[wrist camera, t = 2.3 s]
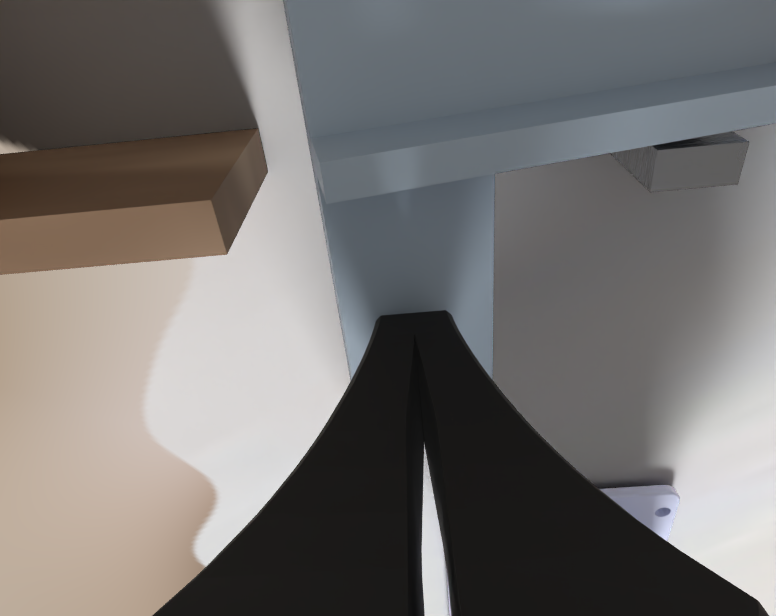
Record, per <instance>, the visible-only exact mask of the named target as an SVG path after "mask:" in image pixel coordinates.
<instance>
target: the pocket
mask: <svg viewBox="0 0 776 616" xmlns="http://www.w3.org/2000/svg"><path fill="white" fill-rule="evenodd" d="M267 173H268V170H267V166H266V161H265V157H264V152H263V148H262V144H261V139H260V135H259V130H258V128H257V129H247V130H237V131H227V132H217V133H207V134H197V135H187V136H177V137H167V138H157V139H147V140H137V141H127V142H117V143H107V144H97V145H87V146H78V147H68V148H58V149H48V150H38V151H28V152H18V153H8V154H0V275H2V274H14V273H25V272H36V271H48V270H58V269H70V268H81V267H93V266H104V265H115V264H125V263H137V262H149V261H160V260H171V259H181V258H194V257H205V256H216V255H227V253H228V251H229V249H230V247H231V245H232V243H233V241H234V239H235V237H236V235H237V233H238V231H239V229H240V227H241V225H242V223H243V221H244V219H245V217H246V215H247V213H248V211H249V209H250V207H251V205H252V203H253V201H254V199H255V197H256V195H257V193H258V191H259V189H260V187H261V185H262V183H263V181H264V179H265V177H266V175H267Z"/></svg>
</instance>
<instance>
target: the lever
mask: <svg viewBox="0 0 776 616" xmlns="http://www.w3.org/2000/svg"><path fill="white" fill-rule="evenodd" d="M283 3H284V8H285V14H286V20H287V25H288V31H289V37H290V42H291V48H292V53H293V59H294V65H295V70H296V76H297V82H298V87H299V93H300V98H301V104H302V110H303V115H304V121H305V127H306V132H307V138H308V143H309V149H310V155H311V160H312V166H313V171H314V177H315V183H316V188H317V194H318V200H319V205H320V211H321V216H322V222H323V228H324V233H325V239H326V245H327V250H328V256H329V261H330V267H331V273H332V278H333V284H334V290H335V295H336V301H337V306H338V312H339V318H340V323H341V329H342V334H343V340H344V346H345V351H346V357H347V363H348V368H349V374H350V379H351V380H352V378H353V376H354V374H355V372H356V370H357V368H358V366H359V364H360V362H361V359H362V357H363V355H364V353H365V350H366V348H367V346H368V343H369V341H370V338H371V335H372V332H373V329H374V326H375V322H376V320H377V319H378V318H379V317H380V316H381V315H392V314H405V313H417V312H429V311H441V310H446V311H448V312H449V313H450V314H451V315H452V317H453V319H454V321H455V323H456V325H457V327H458V329H459V331H460V333H461V335H462V336H463V338H464V340H465V341H466V343H467V345H468V346H469V348H470V349H471V351H472V352H473V354H474V355H475V357H476V358H477V360H478V361H479V363H480V364H481V365H482V367H483V368H484V369H485V371H486V372H487V373H488V375H489V376H490V377H491V379H492V375H493V286H494V197H495V174H497V173H502V172H508V171H513V170H519V169H524V168H530V167H535V166H541V165H547V164H552V163H558V162H563V161H569V160H574V159H580V158H586V157H591V156H597V155H602V154H608V153H613V152H619V151H624V150H630V149H636V148H641V147H647V146H652V145H658V144H663V143H669V142H674V141H680V140H686V139H691V138H697V137H702V136H708V135H713V134H719V133H725V132H730V131H736V130H741V129H747V128H752V127H758V126H763V125H769V124H775V123H776V0H283Z"/></svg>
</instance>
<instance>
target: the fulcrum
mask: <svg viewBox="0 0 776 616" xmlns="http://www.w3.org/2000/svg"><path fill="white" fill-rule="evenodd" d="M748 145H749V141H747V140H746V139H744V138H742V137H740V136H739V135H737V134H735V133H733V132H731V131H730V132H725V133H719V134H713V135H708V136H702V137H697V138H691V139H686V140H680V141H674V142H669V143H663V144H658V145H652V146H647V147H641V148H636V149H630V150H624V151H619V152H613V153H610V154H611V155H612V156H613V157H614V158H615V159H616V160H617V161H618V162H619V163H621V164H622V165H623V166H624V167H625V168H626V169H627V170H628V171H629V172H630V173H631V174H632V175H633V176H634V177H635V178H636V179H637V180H638V181H639V182H640V183H641V184H642V185H643V186H644V187H645V188H646V189H647V190H648V191H649V192H659V191H670V190H681V189H692V188H703V187H714V186H725V185H736V184H738V182H739V178H740V175H741V171H742V167H743V163H744V160H745V156H746V152H747V148H748Z"/></svg>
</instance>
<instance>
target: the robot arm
mask: <svg viewBox="0 0 776 616" xmlns="http://www.w3.org/2000/svg"><path fill="white" fill-rule="evenodd" d="M424 443H425V449H426V454H427V460H428V465H429V471H430V476H431V482H432V487H433V493H434V498H435V504H436V509H437V514H438V520H439V525H440V531H441V536H442V542H443V547H444V554H445V561H446V568H447V582H448V597H449V612H450V616H769V615H768V614H767V612H766V611H765V609H764V608H763V607H762V605H761V604H760V602H759V601H758V600H756V599H755V598H753V597H752V596H750V595H748V594H747V593H745V592H744V591H742V590H741V589H739V588H738V587H736V586H734V585H733V584H731V583H730V582H728V581H727V580H725V579H723V578H722V577H720V576H719V575H717V574H716V573H714V572H713V571H711V570H709V569H708V568H706V567H705V566H703V565H702V564H700V563H699V562H697V561H695V560H694V559H692V558H691V557H689V556H688V555H686V554H684V553H683V552H681V551H680V550H678V549H677V548H675V547H674V546H673V545H671V544H670V543H669V542H667V541H668V538H669V534H670V531H671V528H672V525H673V522H674V518H675V515H676V512H677V509H678V505H679V502H680V497H679V495H678V493H677V491H676V489H675V488H674V487H672V486H670V485H652V486H636V487H621V488H606V489H599V488H597V487H596V486H595V485H594V484H592V483H591V482H590V481H589V480H587V479H586V478H585V477H584V476H583V475H582V474H581V473H579V472H578V471H577V470H576V469H575V468H574V467H573V466H572V465H571V464H570V463H569V462H567V461H566V460H565V459H564V458H563V457H562V456H561V455H560V454H559V453H558V452H557V451H556V450H555V449H554V448H553V447H552V446H551V445H550V444H548V443H547V442H546V441H545V440H544V439H543V438H542V437H541V436H540V435H539V434H538V433H537V431H536V430H535V429H534V428H533V427H532V426H531V425H530V424H529V423H528V422H527V421H526V420H525V419H524V417H523V416H522V415H521V414H520V413H519V412H518V411H517V410H516V408H515V407H514V406H513V405H512V404H511V403H510V401H509V400H508V399H507V398H506V397H505V395H504V394H503V393H502V392H501V390H500V389H499V388H498V387H497V385H496V384H495V383H494V382H493V380H492V379H491V377H490V376H489V375H488V373H487V372H486V371H485V369H484V368H483V367H482V365H481V364H480V363H479V361H478V360H477V358H476V357H475V355H474V354H473V352H472V351H471V349H470V348H469V346H468V345H467V343H466V341H465V340H464V338H463V336H462V335H461V333H460V331H459V329H458V327H457V325H456V323H455V321H454V319H453V317H452V315H451V314H450V313H449V312H448V311H446V310H441V311H429V312H417V313H405V314H392V315H381V316H380V317H379V318H378V319H377V320H376V322H375V326H374V329H373V332H372V335H371V338H370V341H369V343H368V346H367V348H366V350H365V353H364V355H363V357H362V359H361V362H360V364H359V366H358V368H357V370H356V372H355V374H354V376H353V378H352V380H351V382H350V384H349V386H348V388H347V389H346V391H345V393H344V395H343V397H342V398H341V400H340V402H339V403H338V405H337V407H336V408H335V410H334V412H333V413H332V415H331V417H330V418H329V420H328V422H327V423H326V425H325V427H324V428H323V430H322V431H321V433H320V434H319V436H318V437H317V439H316V440H315V442H314V443H313V444H312V446H311V447H310V449H309V450H308V452H307V453H306V454H305V456H304V457H303V458H302V460H301V461H300V462H299V464H298V465H297V467H296V468H295V469H294V470H293V472H292V473H291V474H290V475H289V477H288V478H287V479H286V480H285V482H284V483H283V484H282V485H281V486H280V488H279V489H278V490H277V491H276V493H275V494H274V495H273V496H272V498H271V499H270V500H269V501H268V502H267V503H266V505H265V506H264V507H263V508H262V509H261V510H260V511H259V513H258V514H257V515H256V516H255V517H254V518H253V519H252V520H251V521H250V522H249V523H248V524H247V525H246V526H245V528H244V529H243V530H242V531H241V532H240V533H239V534H238V535H237V536H236V537H235V538H234V539H233V540H232V541H231V542H230V543H229V544H228V545H227V546H226V547H225V548H224V549H223V550H222V551H221V552H220V553H219V554H218V555H217V556H216V557H215V559H214V560H213V561H212V562H211V563H210V564H209V565H208V566H207V567H205V568H204V569H203V570H202V571H201V572H200V573H199V574H198V575H197V576H196V577H195V578H194V579H193V580H192V581H191V582H190V583H188V584H187V585H186V586H185V587H184V588H183V589H182V590H180V591H179V592H178V593H177V594H176V595H175V596H174V597H173V598H172V599H170V600H169V601H168V602H167V603H166V604H165V605H164V606H163V607H161V608H160V609H159V610H158V611H157V612H156V613H155V614H154V615H153V616H424V600H423V584H422V553H421V546H422V505H423V462H424Z"/></svg>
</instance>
